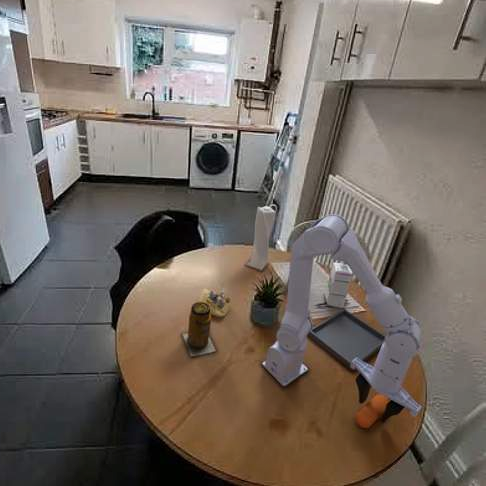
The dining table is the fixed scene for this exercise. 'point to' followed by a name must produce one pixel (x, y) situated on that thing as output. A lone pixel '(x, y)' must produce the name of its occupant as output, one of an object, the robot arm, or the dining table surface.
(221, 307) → the cake
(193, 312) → the condiment
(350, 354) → the gray tray
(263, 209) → the skyscraper
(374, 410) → the carrot
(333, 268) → the syrup box
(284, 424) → the dining table surface
